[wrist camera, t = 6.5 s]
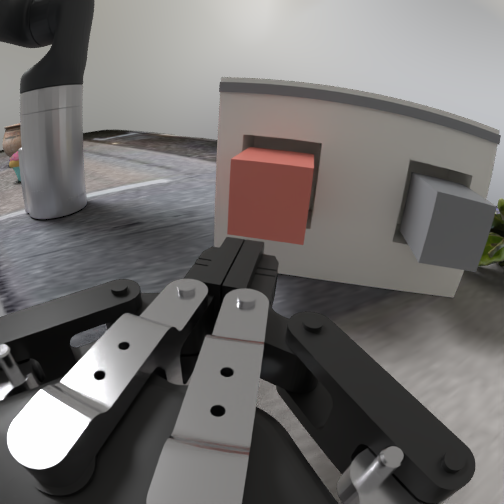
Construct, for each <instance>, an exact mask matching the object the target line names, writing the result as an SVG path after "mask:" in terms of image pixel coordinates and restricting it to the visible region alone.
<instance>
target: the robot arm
mask: <svg viewBox="0 0 504 504" xmlns="http://www.w3.org/2000/svg"><path fill="white" fill-rule="evenodd" d="M93 12H94V0H0V41H1V42H6V43H10V44H14V45H18V46H22V47H26V48H39V47H44V46H47V45H51V44H52V46H51V48H50V50H49V51H48V53H47V54H46V55H45V56H44V58H42V59H41V61H39V62H38V63H37V64H36V65H34V66H33V67H32V68H30V69H29V70H27V71H26V72H25V73H24V74H23V76H22V78H21V83H20V126H21V146H22V147H21V148H20V149H19V151H18V155H19V167H20V176H21V184H22V192H23V199H24V205H25V211H26V213H29V214H30V216H31V217H33V218H36V219H50V218H57V217H61V216H65V215H69V214H71V213H74V212H76V211H78V210H80V209H82V208H84V207H85V206H86V204H87V198H86V187H85V172H84V156H83V132H82V131H83V129H82V95H83V94H82V93H83V85H82V84H83V74H84V70H85V66H86V60H87V51H88V43H89V36H90V31H91V25H92V19H93ZM278 266H279V262H278V260H277V259H276V257H275V256H273V255H266V254H264V242H260V241H253V240H245V239H240V238H233V237H226V239H225V240H224V242H223V243H222V245H221V246H220V248H219V247H211V248H209V249H207V250H205V251H203V253H202V254H201V255H200V257H199V259H197V261H196V262H195V264H194V265H193V266H192V268H191V269H190V270H189V272H188V273H187V275H186V276H185V277H184V279H179V280H176V281H173V282H171V283H170V284H168V285H167V286H166V287H165V289H164V290H163V291H162V292H161V293H141V291H140V286H139V285H138V284H137V283H136V282H135V281H132V280H128V279H119V280H114V281H110V282H107V283H104V284H101V285H98V286H95V287H91V288H88V289H85V290H82V291H79V292H76V293H73V294H70V295H66V296H63V297H60V298H57V299H54V300H51V301H48V302H45V303H42V304H39V305H35V306H32V307H29V308H26V309H23V310H20V311H17V312H14V313H11V314H8V315H5V316H2V317H0V504H338V503H337V501H336V500H335V499H334V497H333V496H332V495H331V493H330V492H329V490H328V489H327V488H326V486H325V485H324V484H323V482H322V481H321V479H320V478H319V477H318V475H317V474H316V472H315V471H314V470H313V468H312V467H311V465H310V464H309V463H308V461H307V460H306V458H305V457H304V455H303V454H302V453H301V451H300V450H299V448H298V447H297V445H296V444H295V442H294V441H293V439H292V438H291V436H290V435H289V433H288V432H287V431H286V429H285V428H284V427H283V426H282V425H281V424H280V423H279V422H278V421H277V420H276V419H274V418H273V417H272V416H271V415H269V414H268V413H266V412H265V411H263V410H261V409H259V408H257V407H256V402H257V395H258V387H259V380H260V378H261V379H263V380H265V381H268V382H270V383H272V384H274V385H276V388H277V392H278V393H279V395H280V396H281V398H282V399H283V400H284V402H285V403H286V404H287V406H288V407H289V408H290V409H291V411H292V412H293V413H294V415H295V416H296V417H297V419H298V420H299V421H300V423H301V424H302V425H303V426H304V428H305V429H306V430H307V432H308V433H309V434H310V435H311V437H312V438H313V439H314V440H315V442H316V443H317V444H318V445H319V447H320V448H321V449H322V450H323V452H324V453H325V454H326V455H327V457H328V458H329V459H330V460H331V462H332V463H333V464H334V465H335V466H336V468H337V469H338V470H339V471H340V472H341V474H342V475H341V477H340V478H339V481H338V484H337V493H338V496H339V498H340V500H341V501H342V503H343V504H442V503H444V502H445V501H446V500H448V499H449V498H450V497H451V496H452V495H453V494H454V493H455V492H457V491H458V490H460V489H461V488H462V487H463V486H465V485H466V484H467V483H468V482H469V481H470V480H471V478H472V477H473V474H474V472H475V459H474V456H473V454H472V452H471V450H470V449H469V448H468V447H467V446H466V445H465V444H464V443H463V442H462V441H461V440H460V439H459V438H458V437H457V436H456V435H454V434H453V433H452V432H451V431H450V430H449V429H448V428H447V427H446V426H445V425H444V424H443V423H442V422H440V421H439V420H438V419H437V418H436V417H435V416H434V415H433V414H432V413H431V412H430V411H429V410H428V409H426V408H425V407H424V406H423V405H422V404H421V403H420V402H419V401H418V400H417V399H416V398H415V397H414V396H412V395H411V394H410V393H409V392H408V391H407V390H406V389H405V388H404V387H403V386H402V385H401V384H400V383H398V382H397V381H396V380H395V379H394V378H393V377H392V376H391V375H390V374H389V373H388V372H387V371H385V370H384V369H383V368H382V367H381V366H380V365H379V364H378V363H377V362H376V361H375V360H374V359H372V358H371V357H370V356H369V355H368V354H367V353H366V352H365V351H364V350H363V349H362V348H361V347H360V346H358V345H357V344H356V343H355V342H354V341H353V340H352V339H351V338H350V337H349V336H348V335H347V334H345V333H344V332H343V331H342V330H341V329H340V328H339V327H338V326H337V325H336V324H335V323H333V322H332V321H331V320H330V319H329V318H328V317H326V316H324V315H322V314H319V313H315V312H300V313H297V314H295V315H293V316H292V317H291V318H290V319H288V318H286V317H283V316H281V315H279V314H278V313H276V312H275V311H274V310H273V309H272V305H273V300H274V296H275V289H276V282H277V274H278ZM105 323H106V325H107V329H108V330H107V331H106V332H105V333H104V334H103V336H102V337H101V338H100V339H99V340H98V341H95V342H92V343H89V344H87V345H84V346H81V347H78V348H75V347H72V346H70V340H71V338H72V337H73V336H74V335H75V334H77V333H80V332H83V331H85V330H88V329H91V328H94V327H97V326H99V325H102V324H105Z"/></svg>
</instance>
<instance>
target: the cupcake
mask: <svg viewBox="0 0 504 504" xmlns="http://www.w3.org/2000/svg"><path fill="white" fill-rule="evenodd" d="M18 151H19V150H18ZM18 151H17V152H15V153H14V154H13V155H12V156H11V158H10V160H9V161H10V163H9V166H10V167H11V168H13V169H14V171H15V173H16V175H17V177H18V180H19V181H21V176H20V167H19V155H18Z"/></svg>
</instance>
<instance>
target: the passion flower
mask: <svg viewBox="0 0 504 504" xmlns="http://www.w3.org/2000/svg"><path fill="white" fill-rule="evenodd" d="M496 207H497V206H496ZM497 262H498V263H499V265H500V266H503V267H504V200H503V199H499V201H498V207H497V208H496V212H495V215H494V219H493V222H492V226H491V229H490V232H489V236H488V239H487V242H486V245H485V248H484V251H483V254H482V257H481V259H480V262H479V265H478V266H486V265H490V264H493V263H497Z"/></svg>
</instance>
